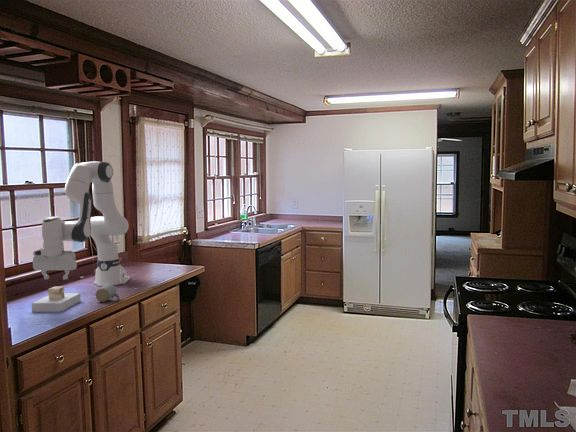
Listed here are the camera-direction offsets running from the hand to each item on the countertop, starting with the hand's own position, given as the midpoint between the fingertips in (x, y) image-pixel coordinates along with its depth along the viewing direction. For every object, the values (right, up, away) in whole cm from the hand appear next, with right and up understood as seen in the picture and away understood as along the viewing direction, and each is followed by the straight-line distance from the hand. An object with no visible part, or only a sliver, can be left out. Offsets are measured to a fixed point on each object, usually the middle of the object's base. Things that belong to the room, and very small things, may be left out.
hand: (56, 279), depth 228 cm
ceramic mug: (+21, -12, +10) cm, 27 cm away
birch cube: (0, -9, 0) cm, 9 cm away
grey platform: (0, -13, +1) cm, 13 cm away
